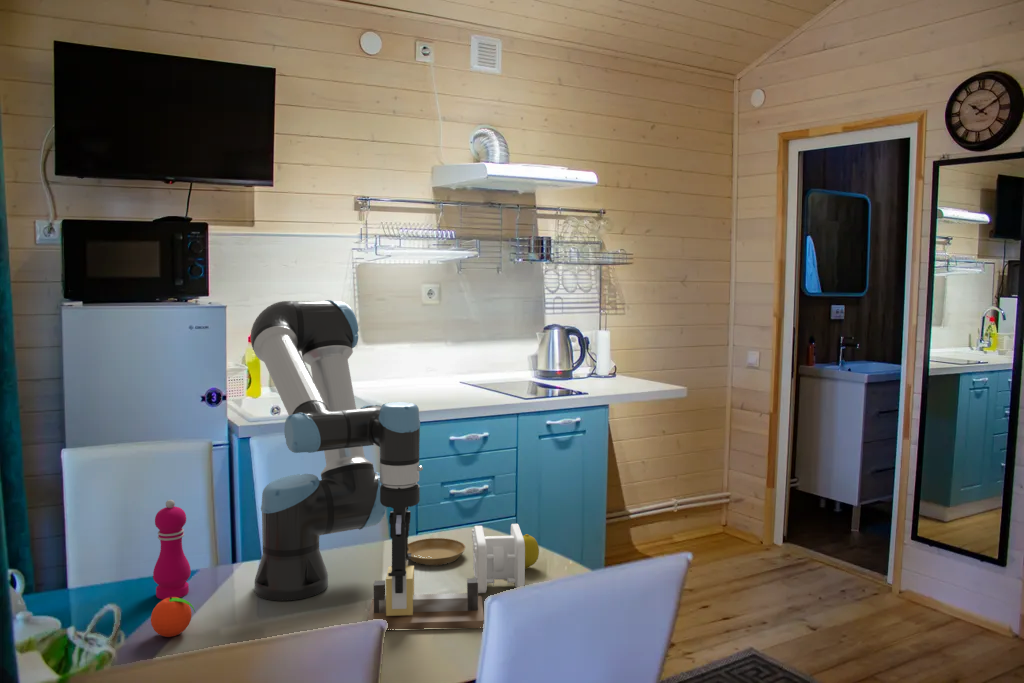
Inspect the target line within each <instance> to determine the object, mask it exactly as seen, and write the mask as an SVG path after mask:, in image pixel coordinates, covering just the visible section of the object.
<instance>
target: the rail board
mask: <svg viewBox="0 0 1024 683" xmlns="http://www.w3.org/2000/svg"><path fill="white" fill-rule="evenodd" d="M466 579H467V581H466V582H467V584H466V586H467V587H466V588H467V589H466V591H467V592H466V593H464V592H463V593H430V594H429V593H428V594H424V593H423V594H422V593H421V594H414V595H413V615H396V616H386V579H385V580H374V583H373V598H371V602H370V606H369V610H368V614H367V619H366V621H367V620H373V619H383V620H386V621H387V623H388V628H387V630H388V629H389V630H390V629H391V630H392V629H394V630H395V629H424V628H478V629H483V628H482V627H483V620H484V621H485V616H484V608H483V597H482V595H479V593H478V578H475V577H474V578H473V577H472V578H466ZM480 627H481V628H480Z"/></svg>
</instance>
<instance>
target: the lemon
mask: <svg viewBox="0 0 1024 683" xmlns="http://www.w3.org/2000/svg"><path fill="white" fill-rule="evenodd" d="M522 536H523V538H524V543H525V569H529V568H530V567H531V566H533V565H535V564H536V562H537V561H538V559H539V554H540V547H539V544H538V541H537V540H536V538H535V537H533V536H532V535H530V534H528V533H526V534H524V535H522Z"/></svg>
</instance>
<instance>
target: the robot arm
mask: <svg viewBox="0 0 1024 683" xmlns="http://www.w3.org/2000/svg"><path fill="white" fill-rule="evenodd" d="M358 332H359V325H358V320H357V316H356V314H355V312H354V310H353V309H352V308H351V306H350V305H349V304H348V303H346V302H343V301H337V300H332V299H330V300H329V299H327V300H283V301H278V302H275V303H272V304H271V305H269V306H267V307H266V308H264V309H263V310H262V311H261V312H260V313H259V314H258V316H257V317H256V319H255V320H254V322H253V323H252V327H251V330H250V343H251V348H252V350H253V352H254V354H255V356H256V358H258V360H260V361H262V362H264V365H265V367H266V369H267V371H268V373H269V375H270V378H271V380H272V381H273V384H274V386H275V389H276V391H277V393H278V395H279V397H280V399H281V402H282V404H283V406H284V409H285V410H286V413H287V414H288V416H287V417H286V419H285V422H284V426H283V427H284V428H283V429H284V438H285V444H286V447H287V448H288V450H289V451H290V452H292V453H294V454H297V453H299V454H300V453H301V454H302V453H308V454H309V453H316V452H317V453H318V452H323V453H324V460H325V467H324V468H323V470H322V471H321V472H320V477H321V479H319V478H318V476H317V475H315V474H314V473H313V474H312V473H303V474H300V473H297V474H293V475H287V476H283V477H280V478H277V479H275V480H273V481H271V482H270V483H268V484H267V485H265V486H264V488H263V490H262V492H261V493H262V495H261V506H260V511H261V528H262V530H261V532H262V541H261V542H262V554H261V555H262V556H261V558H260V561H259V562H260V563H259V565H258V568H257V570H256V574H255V577H254V593H255V595H256V596H258V597H259V598H261V599H265V600H270V601H277V602H278V601H279V602H280V601H281V602H283V601H286V602H287V601H294V600H295V601H296V600H302V599H306V598H310V597H313V596H315V595H318V594H320V593H322V592H324V591H325V590H326V589H327V588H328V587H329V586H328V585H329V574H328V571H327V570H328V569H327V568H326V565H325V562H324V559H323V556H322V554H321V550H320V536H324V535H331V534H336V533H343V532H347V531H354V530H359V531H361V530H363V529H365V528H371V527H374V526H377V525H378V524H380V523H381V521H382V520H383V519H384V517H385V515H386V511H387V508H391V509H392V510H393V511H389V518H388V524H389V525H390V530H389V531H390V535H389V537H390V538H391V566H392V572H391V573H388V576H392V609H406V608H407V574H406V566H409V559H410V558H411V553H408V550H409V548H408V544H409V535H410V534H409V532H410V526H411V525H410V524H411V516H412V515H411V510H409V507H410V508H411V507H414V506H417V505H418V504H419V503H420V499H421V498H420V497H421V496H420V495H421V493H420V492H421V490H420V487H421V486H420V484H419V483H418V482H419V481H420V472H422V471H423V470H424V468H423V466H422V465H420V440H421V438H420V434H421V432H420V430H421V429H420V428H421V421H420V411H419V410H420V409H419V407H418V405H417V404H416V403H414V402H406V401H394V402H393V401H392V402H386V403H383V404H382V405H380V404H367V405H364V406H363V405H362V406H361V407H360V408H357V405H356V399H355V394H354V389H353V384H352V376H351V371H350V367H349V366H350V365H349V361H348V360H349V358H350V357H351V356H352V355H353V352H354V351H353V349H354V348H355V347H357V344H358V342H359V333H358ZM300 352H301V353H300ZM307 365H309V366H310V371H309V368H308V366H307ZM369 446H377V447H379V472H377V471H375V469H374V465H373V464H374V463H373V462H371V461H370V460H369V459H367V458H366V457H365V451H364V450H365V449H364V447H369Z"/></svg>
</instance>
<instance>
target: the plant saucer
mask: <svg viewBox="0 0 1024 683" xmlns="http://www.w3.org/2000/svg"><path fill="white" fill-rule="evenodd" d="M408 548H409V550H408V553H411V558H409V560H411V561H412V562H413V563H415V562H416V563H415V564H418V563H419V564H418V565H421V564H425V565H424V566H443V565H442V564H444V565H448V564H451V563H453V562H455V561H456V560H457V559H458V558H460V556H461V555H462V554H463V553H464V552H465V550H466V545H465V543H463V542H462V541H458V540H455V539H452V538H443V537H432V538H431V537H430V538H422V539H417V540H414V541H410V542H408ZM414 555H415V556H417V557H414ZM418 555H420V556H422V557H425V558H422V557H421V558H419V557H420V556H418ZM428 556H430V557H432V558H430V557H428ZM426 557H427V558H426ZM447 563H448V564H447Z"/></svg>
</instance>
